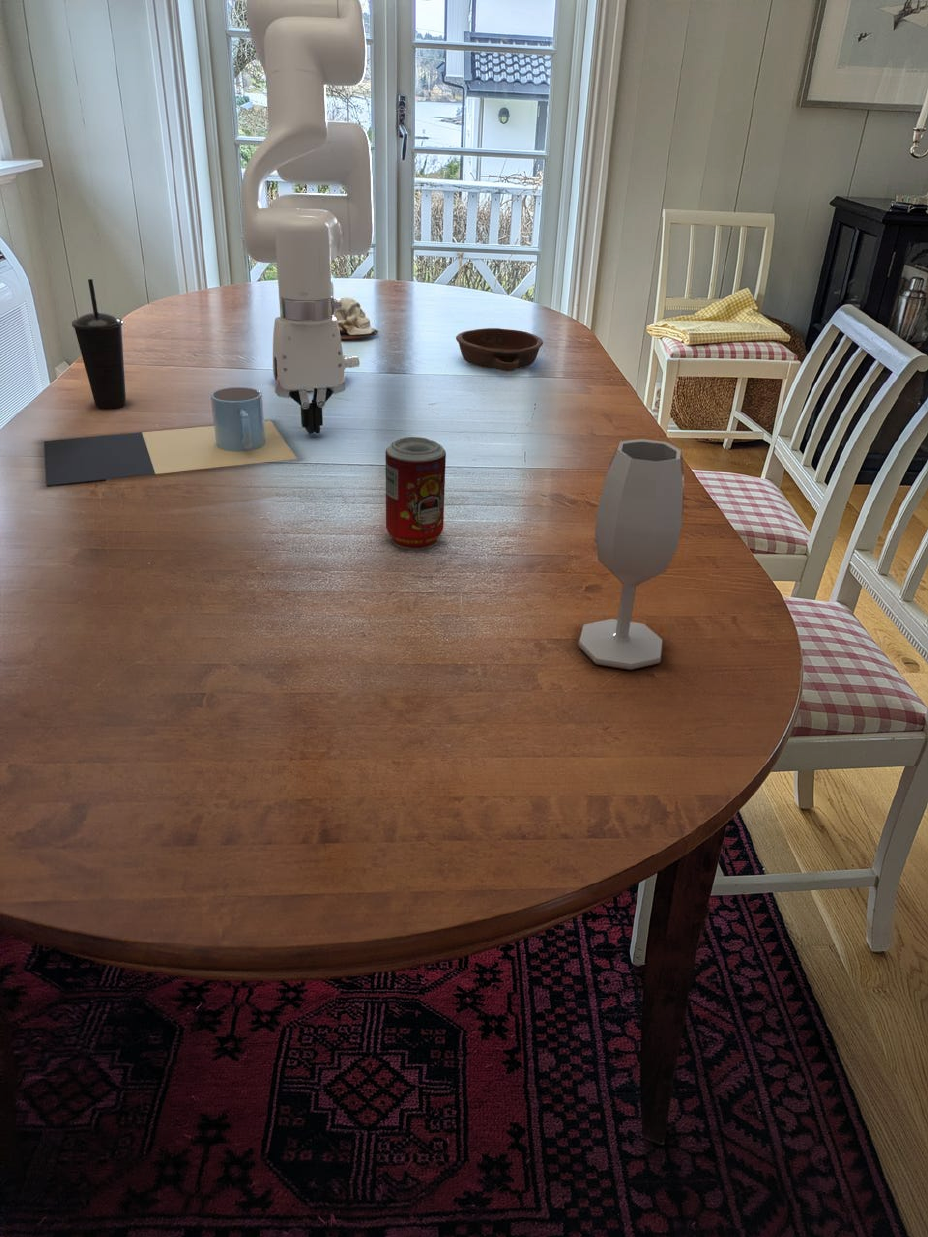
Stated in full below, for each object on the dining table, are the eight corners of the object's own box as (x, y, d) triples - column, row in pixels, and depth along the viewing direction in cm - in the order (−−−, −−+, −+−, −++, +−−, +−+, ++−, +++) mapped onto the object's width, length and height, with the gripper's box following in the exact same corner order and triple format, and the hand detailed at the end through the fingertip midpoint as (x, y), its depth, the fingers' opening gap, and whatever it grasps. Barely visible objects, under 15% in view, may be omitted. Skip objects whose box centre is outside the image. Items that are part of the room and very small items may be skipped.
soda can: (411, 557, 107) (411, 459, 101) (374, 537, 112) (372, 441, 105) (455, 541, 111) (458, 446, 105) (418, 523, 116) (419, 430, 110)
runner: (270, 421, 147) (270, 420, 147) (297, 459, 133) (297, 458, 133) (44, 442, 135) (43, 441, 135) (46, 486, 121) (46, 485, 121)
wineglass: (569, 626, 95) (591, 433, 84) (650, 625, 96) (682, 433, 85) (586, 673, 88) (612, 467, 77) (674, 671, 88) (712, 468, 78)
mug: (212, 437, 139) (206, 388, 136) (260, 432, 142) (256, 385, 138) (224, 460, 131) (218, 410, 127) (274, 455, 134) (271, 405, 130)
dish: (461, 378, 173) (461, 351, 170) (450, 348, 192) (450, 324, 189) (550, 378, 175) (553, 352, 172) (531, 349, 194) (533, 325, 191)
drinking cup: (120, 414, 148) (99, 285, 137) (77, 409, 149) (53, 281, 139) (143, 400, 154) (125, 276, 144) (102, 396, 155) (81, 273, 145)
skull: (391, 327, 201) (373, 297, 191) (371, 366, 199) (352, 337, 189) (348, 317, 206) (328, 287, 196) (327, 355, 203) (306, 326, 194)
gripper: (348, 301, 137) (351, 419, 147) (249, 306, 132) (259, 428, 141) (363, 311, 132) (365, 433, 141) (260, 317, 126) (270, 443, 135)
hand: (312, 430), depth 141 cm, fingers closed
